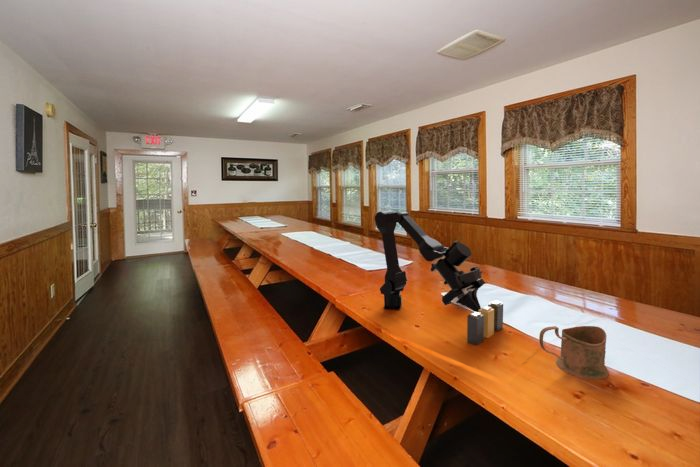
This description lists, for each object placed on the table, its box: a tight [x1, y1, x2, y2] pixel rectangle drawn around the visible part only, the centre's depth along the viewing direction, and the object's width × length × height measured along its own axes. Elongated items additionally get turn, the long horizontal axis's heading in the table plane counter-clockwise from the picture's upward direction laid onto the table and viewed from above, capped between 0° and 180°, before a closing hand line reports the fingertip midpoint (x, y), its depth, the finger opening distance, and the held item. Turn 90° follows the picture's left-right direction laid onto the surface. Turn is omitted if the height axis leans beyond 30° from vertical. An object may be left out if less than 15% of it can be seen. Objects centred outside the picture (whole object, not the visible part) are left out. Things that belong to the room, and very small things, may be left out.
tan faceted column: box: [478, 305, 495, 339], centre depth 108 cm, size 3×4×9 cm
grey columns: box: [466, 300, 504, 346], centre depth 112 cm, size 18×19×10 cm
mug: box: [538, 325, 609, 381], centre depth 89 cm, size 12×18×12 cm, turn 95°
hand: (480, 312), depth 109 cm, fingers closed, pressing on tan faceted column
